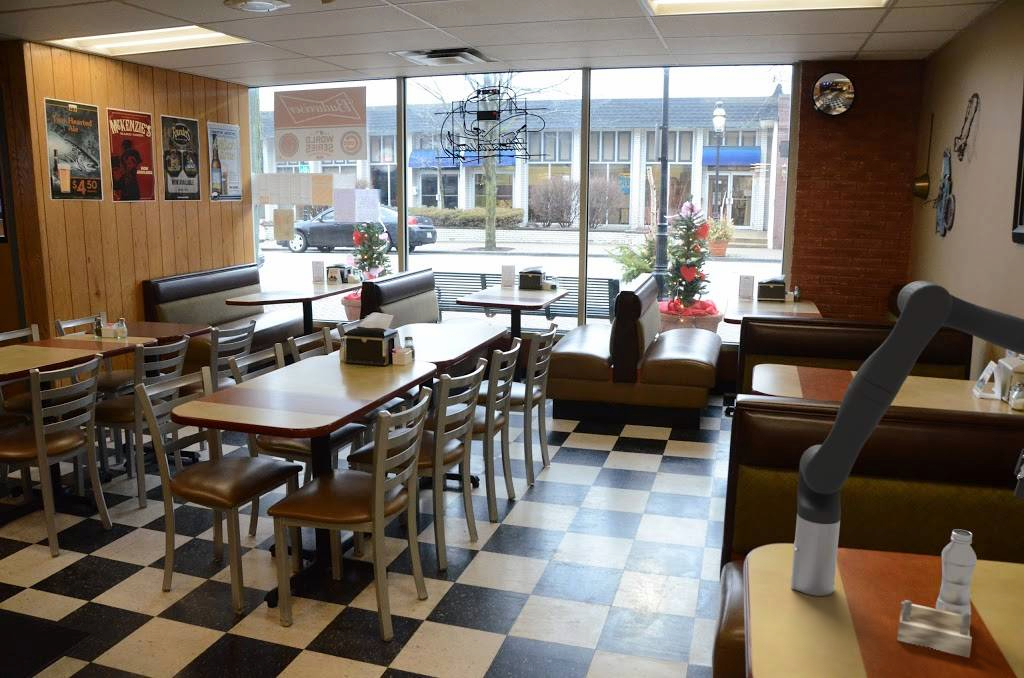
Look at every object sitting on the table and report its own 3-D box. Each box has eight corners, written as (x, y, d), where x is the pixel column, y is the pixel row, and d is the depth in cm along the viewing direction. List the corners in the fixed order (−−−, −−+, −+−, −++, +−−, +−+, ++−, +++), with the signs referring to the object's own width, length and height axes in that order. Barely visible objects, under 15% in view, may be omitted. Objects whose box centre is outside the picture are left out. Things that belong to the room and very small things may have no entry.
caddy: (897, 640, 168) (900, 610, 167) (899, 618, 177) (903, 590, 176) (969, 657, 162) (973, 627, 161) (968, 634, 171) (972, 605, 170)
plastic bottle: (973, 630, 173) (985, 540, 169) (939, 626, 174) (949, 537, 170) (963, 615, 179) (974, 528, 175) (930, 611, 180) (940, 525, 177)
